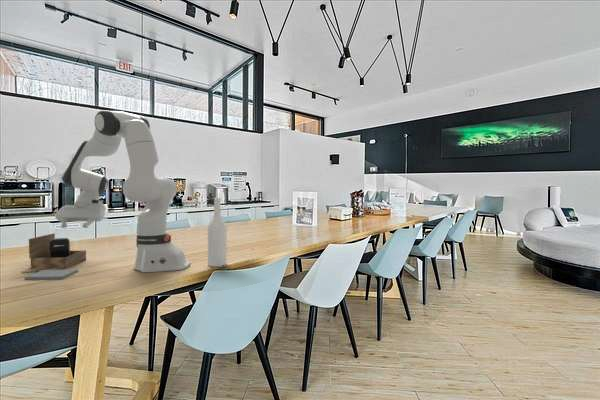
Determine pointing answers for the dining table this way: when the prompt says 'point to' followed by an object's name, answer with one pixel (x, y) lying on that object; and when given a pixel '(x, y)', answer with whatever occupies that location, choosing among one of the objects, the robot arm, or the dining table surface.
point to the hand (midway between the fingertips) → (74, 227)
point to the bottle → (217, 238)
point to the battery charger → (60, 247)
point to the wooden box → (42, 257)
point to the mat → (51, 274)
